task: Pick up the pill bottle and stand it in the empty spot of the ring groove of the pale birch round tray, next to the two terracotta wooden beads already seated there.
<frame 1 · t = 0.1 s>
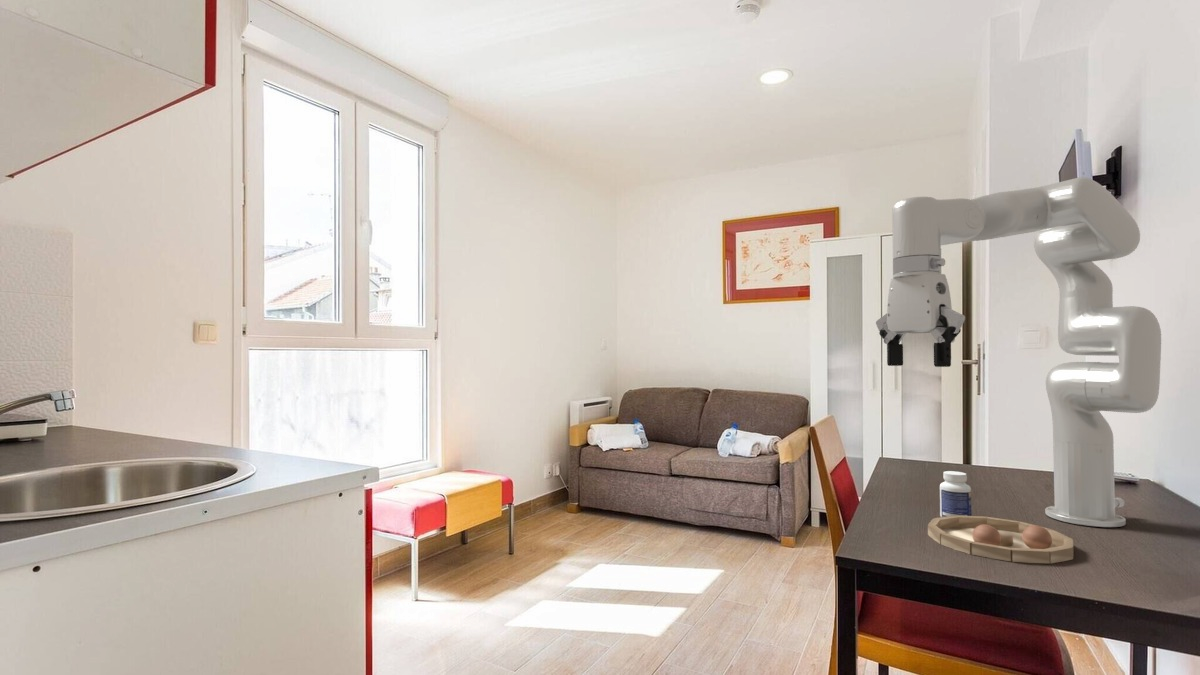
hand: (917, 366, 105), 31 cm above the table, fingers open, 9 cm apart
groove tray: (997, 548, 103), on the table
bead a: (986, 549, 99), point 1 cm above the table, touching groove tray
pill bottle: (955, 523, 119), on the table
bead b: (1037, 550, 99), point 1 cm above the table, touching groove tray
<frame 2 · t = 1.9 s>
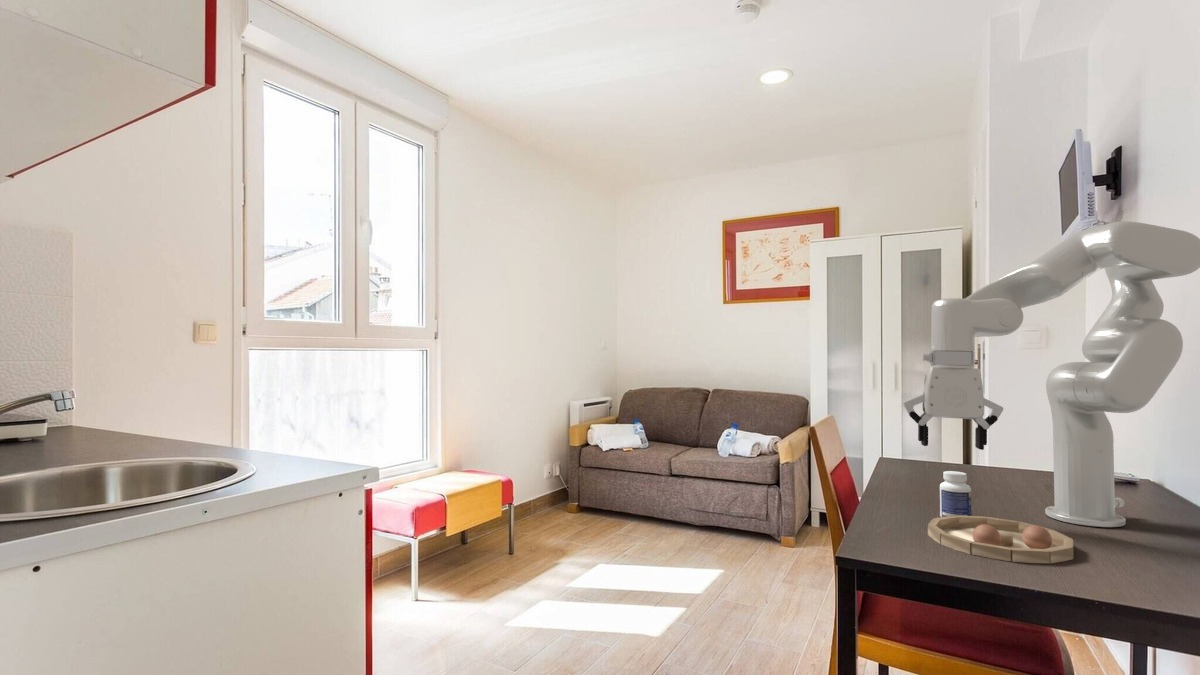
hand: (951, 446, 119), 15 cm above the table, fingers open, 9 cm apart
nothing on the table moved.
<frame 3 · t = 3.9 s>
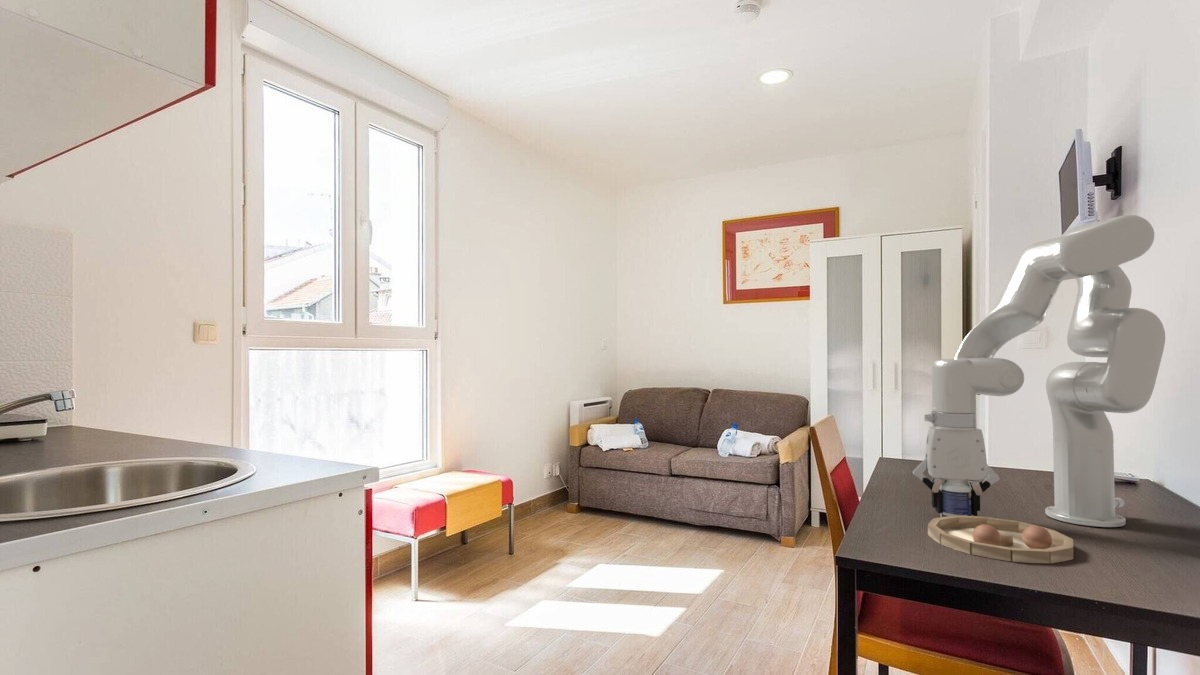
hand: (955, 512, 119), 2 cm above the table, fingers closed on pill bottle, 5 cm apart
pill bottle: (955, 523, 119), on the table, touching gripper
everything else where it was.
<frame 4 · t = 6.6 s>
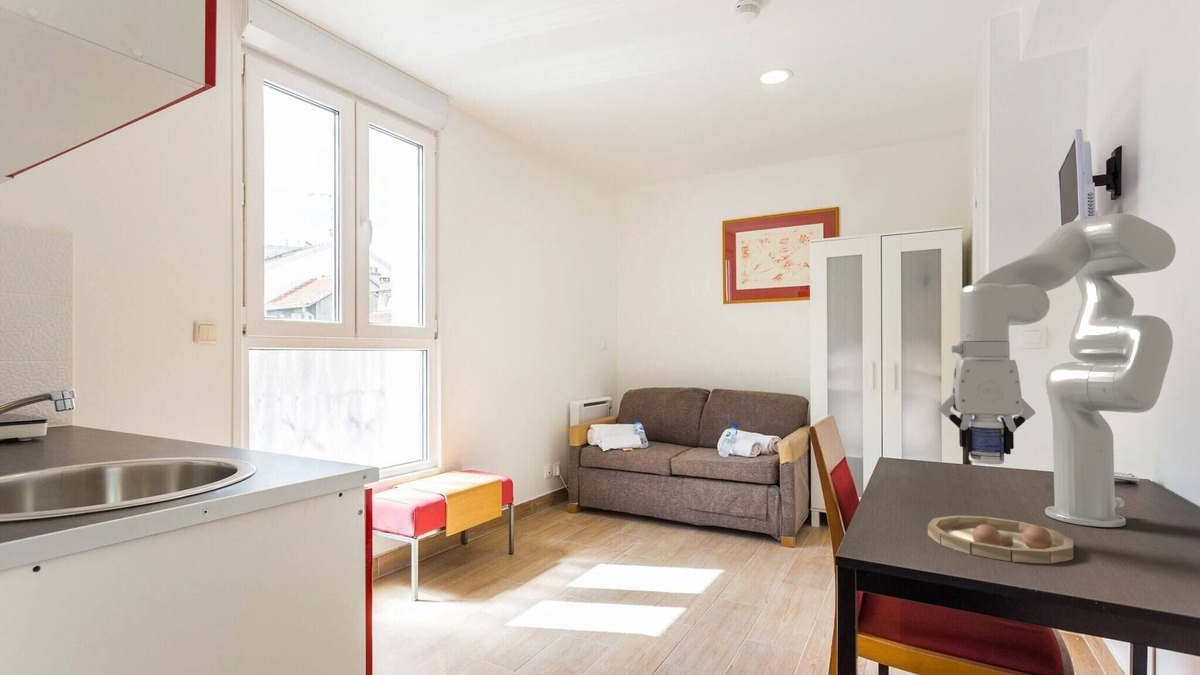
hand: (986, 451, 109), 16 cm above the table, fingers closed on pill bottle, 5 cm apart
pill bottle: (986, 463, 109), point 13 cm above the table, touching gripper
everything else where it was.
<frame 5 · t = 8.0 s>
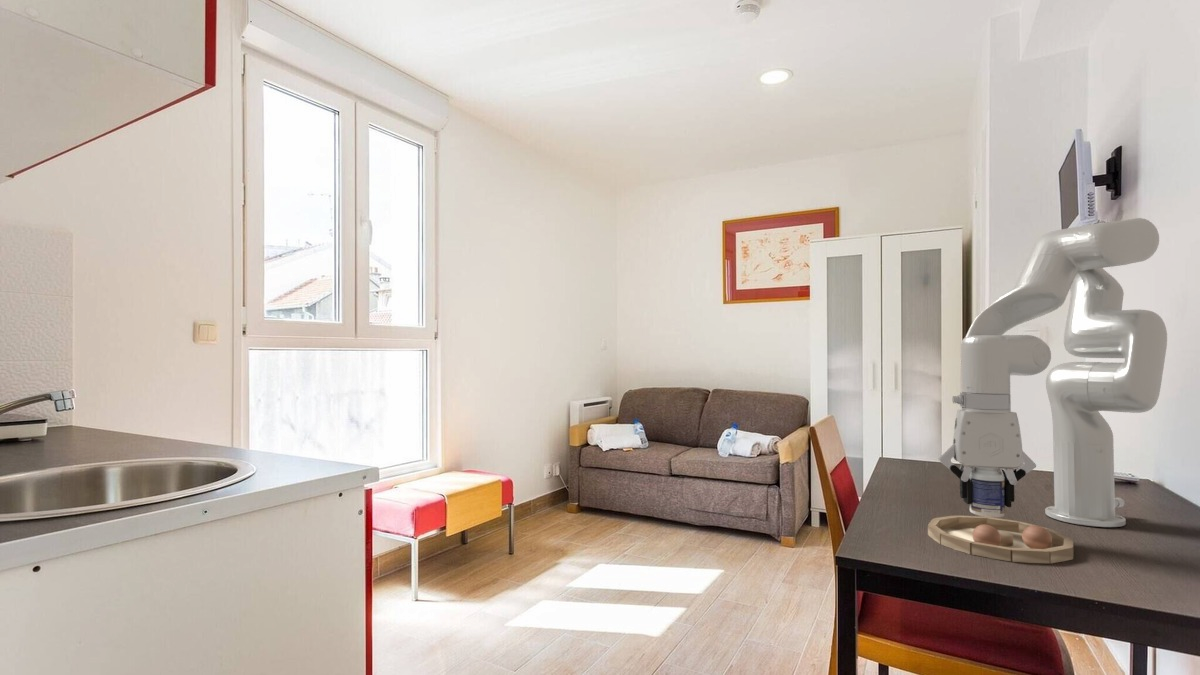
hand: (986, 503, 108), 6 cm above the table, fingers closed on pill bottle, 5 cm apart
pill bottle: (986, 515, 108), point 4 cm above the table, touching gripper
everything else where it was.
when the fingers open (4 cm above the table, at t = 9.3 s): pill bottle drops 1 cm, resting on groove tray.
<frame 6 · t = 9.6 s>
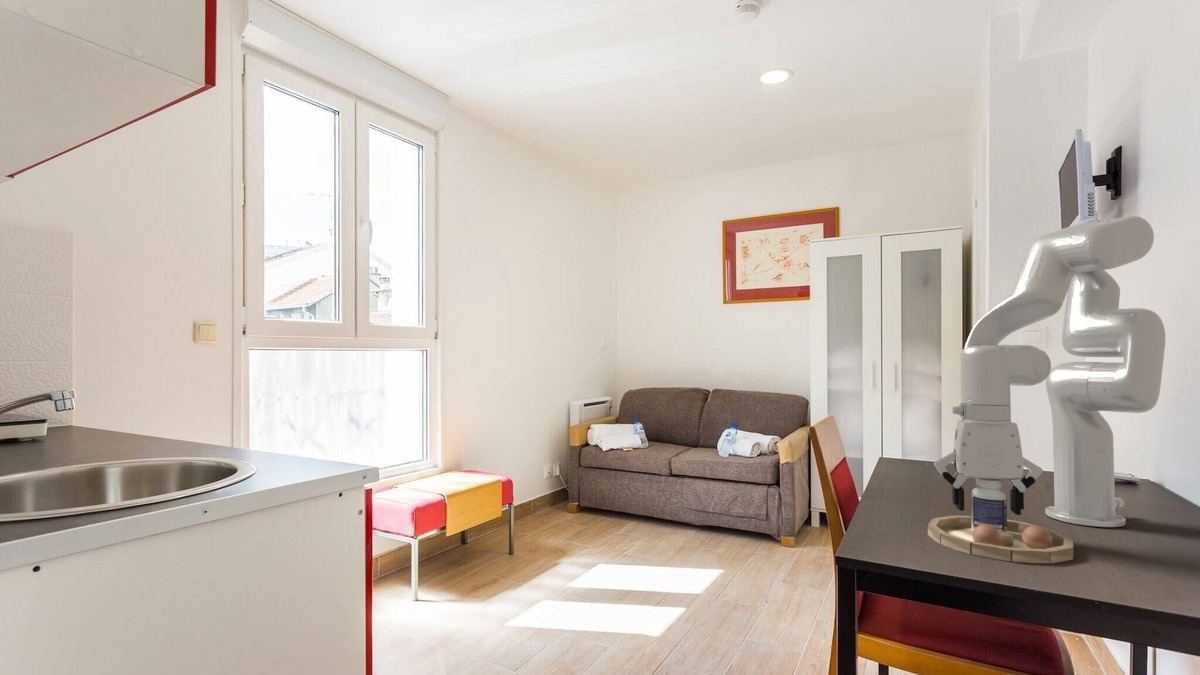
hand: (987, 510, 108), 5 cm above the table, fingers open, 8 cm apart
pill bottle: (988, 533, 108), point 1 cm above the table, touching groove tray
everything else where it was.
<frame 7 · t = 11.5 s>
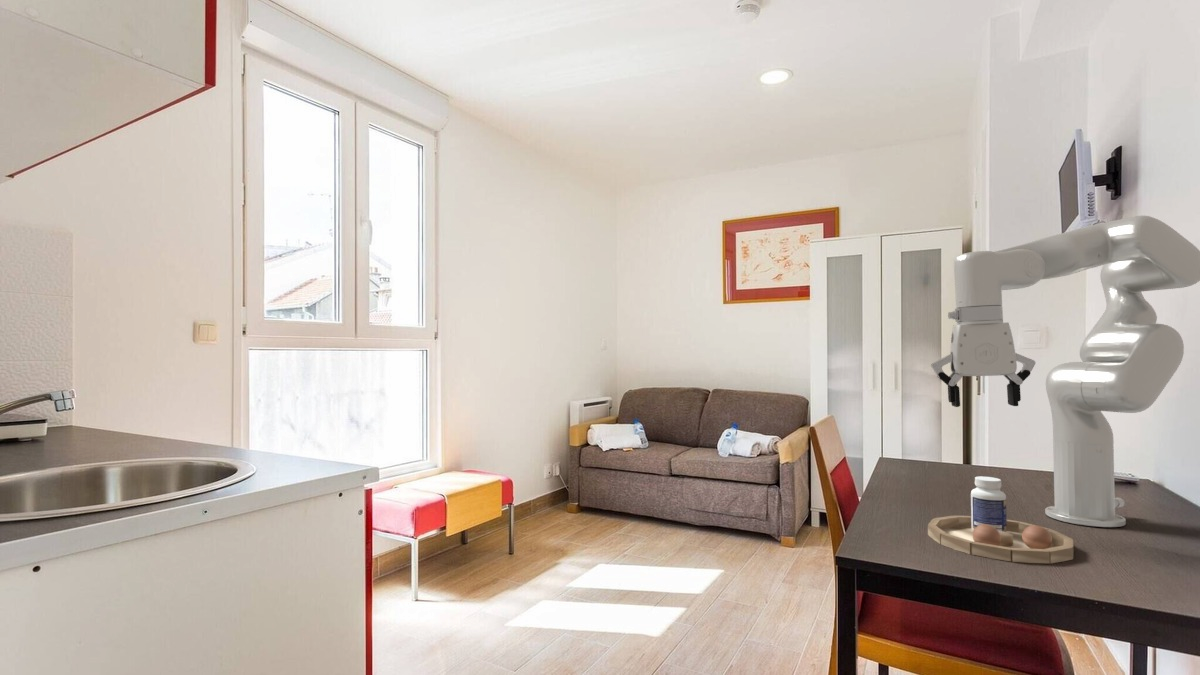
hand: (984, 405, 115), 23 cm above the table, fingers open, 9 cm apart
nothing on the table moved.
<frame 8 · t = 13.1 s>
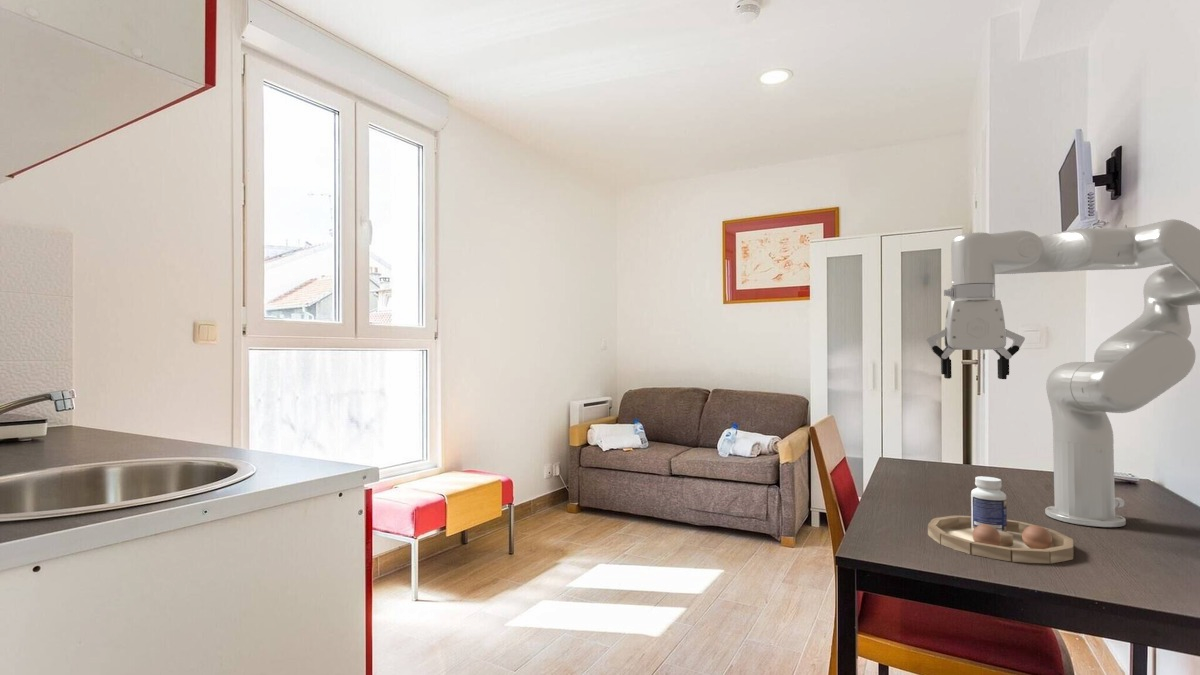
hand: (974, 378, 122), 28 cm above the table, fingers open, 9 cm apart
nothing on the table moved.
at the end: pill bottle 0.2 cm from the target spot, point 0.8 cm above the table; pill bottle tilted 1°; the gripper is holding nothing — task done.
